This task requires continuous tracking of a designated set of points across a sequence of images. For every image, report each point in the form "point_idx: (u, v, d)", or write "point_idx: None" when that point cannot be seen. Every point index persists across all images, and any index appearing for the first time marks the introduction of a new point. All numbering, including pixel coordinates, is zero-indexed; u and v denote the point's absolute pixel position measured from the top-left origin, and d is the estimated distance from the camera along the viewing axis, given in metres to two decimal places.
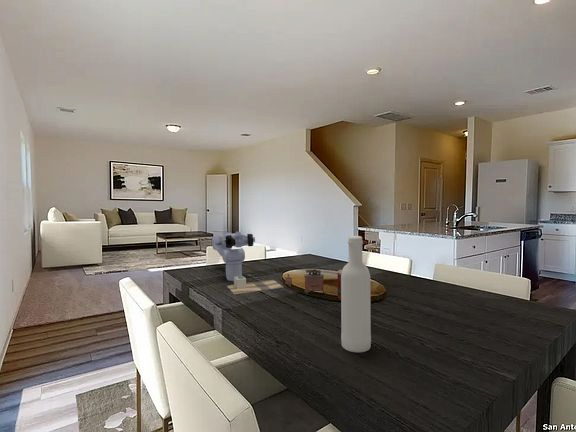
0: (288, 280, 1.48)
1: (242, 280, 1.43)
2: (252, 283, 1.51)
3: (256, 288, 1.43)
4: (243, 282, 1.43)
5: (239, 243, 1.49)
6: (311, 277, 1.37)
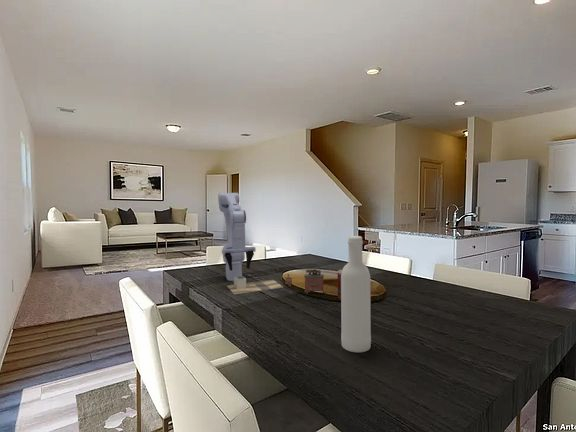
0: (288, 280, 1.48)
1: (242, 280, 1.43)
2: (252, 283, 1.51)
3: (256, 288, 1.43)
4: (243, 282, 1.43)
5: None
6: (311, 277, 1.37)
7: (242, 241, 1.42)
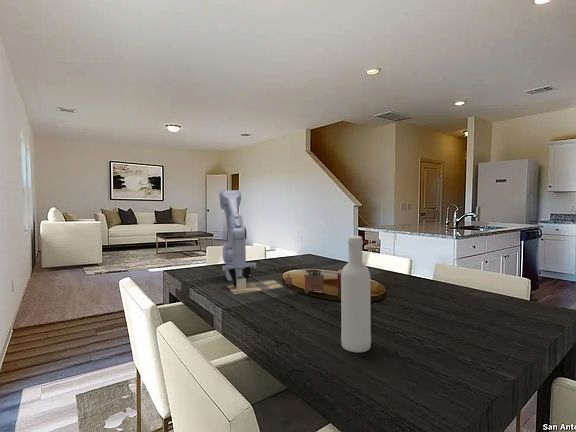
0: (288, 280, 1.48)
1: (242, 280, 1.43)
2: (252, 283, 1.51)
3: (256, 288, 1.43)
4: (243, 282, 1.43)
5: None
6: (311, 277, 1.37)
7: (242, 258, 1.43)
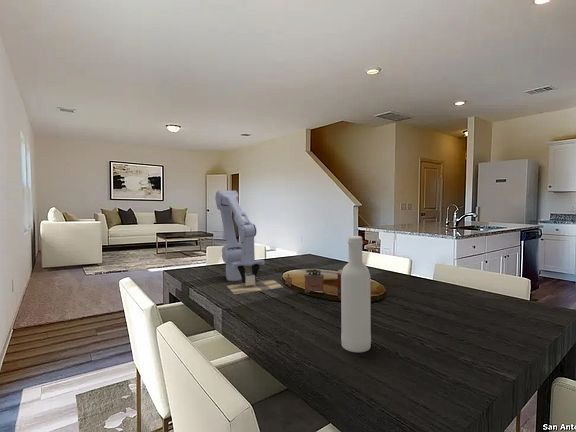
0: (288, 280, 1.48)
1: (251, 277, 1.44)
2: None
3: (256, 288, 1.43)
4: (252, 279, 1.45)
5: None
6: (311, 277, 1.37)
7: (251, 254, 1.44)
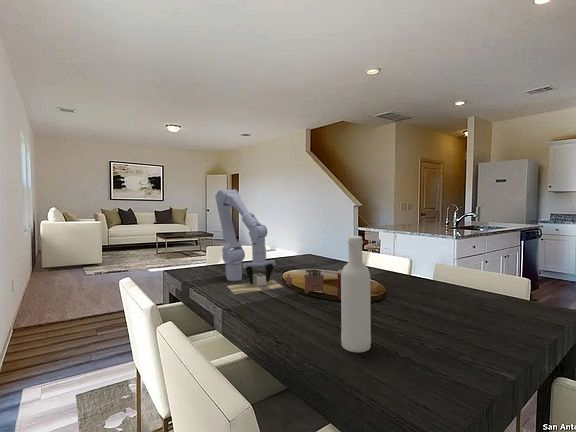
0: (288, 280, 1.48)
1: (262, 277, 1.46)
2: None
3: (256, 288, 1.43)
4: (263, 279, 1.47)
5: None
6: (311, 277, 1.37)
7: (262, 255, 1.46)
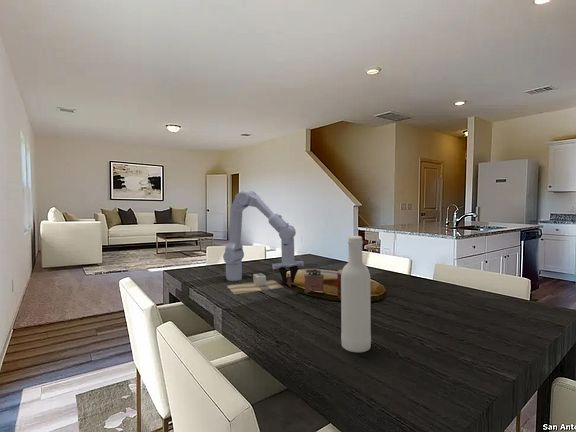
0: (288, 280, 1.48)
1: (262, 277, 1.46)
2: (252, 283, 1.51)
3: (256, 288, 1.43)
4: (263, 279, 1.47)
5: None
6: (311, 277, 1.37)
7: (292, 256, 1.46)
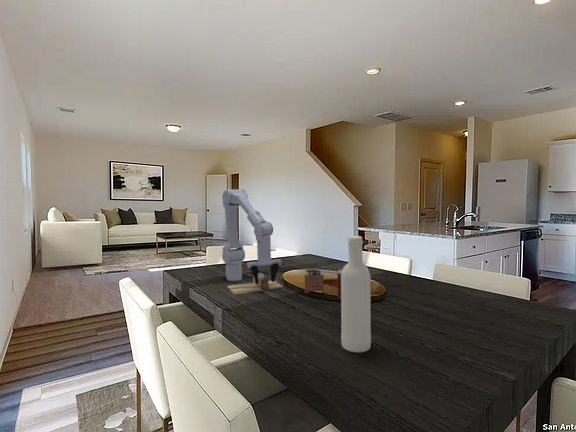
0: (264, 282, 1.41)
1: (262, 277, 1.46)
2: (252, 283, 1.51)
3: (256, 288, 1.43)
4: None
5: None
6: (311, 277, 1.37)
7: (268, 254, 1.39)
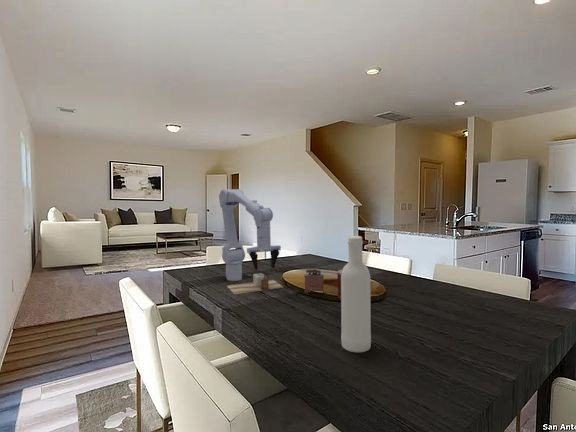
0: (264, 282, 1.41)
1: (262, 277, 1.46)
2: (252, 283, 1.51)
3: (256, 288, 1.43)
4: None
5: None
6: (311, 277, 1.37)
7: (268, 240, 1.39)
